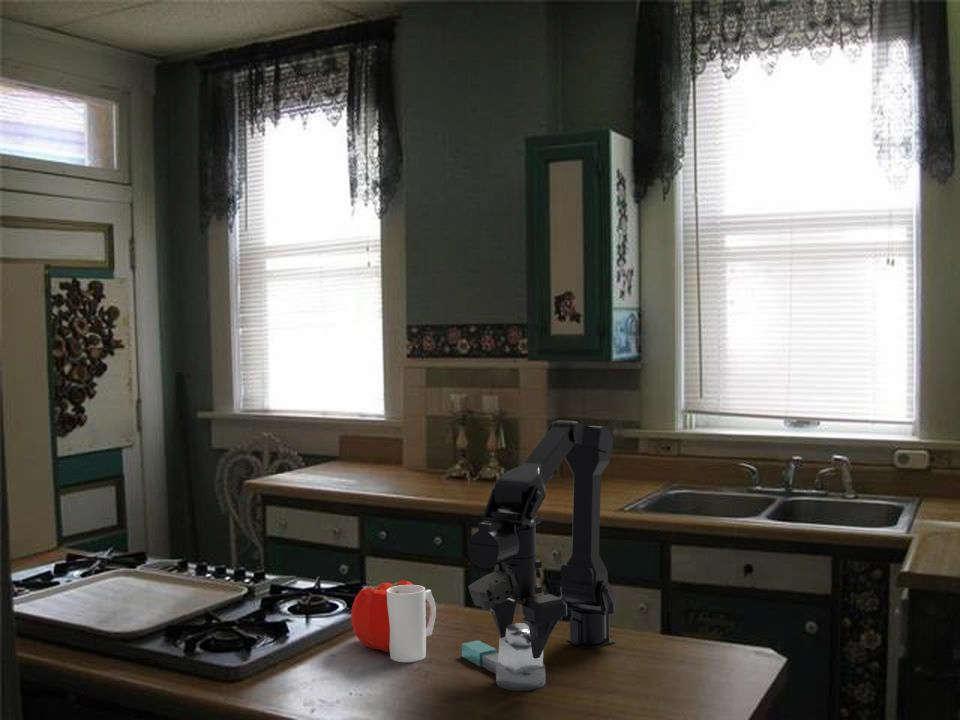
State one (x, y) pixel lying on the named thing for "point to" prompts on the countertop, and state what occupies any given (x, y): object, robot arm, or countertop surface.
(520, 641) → the cylinder with square end
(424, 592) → the mug
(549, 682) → the countertop surface
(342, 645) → the countertop surface
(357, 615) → the tomato
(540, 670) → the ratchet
